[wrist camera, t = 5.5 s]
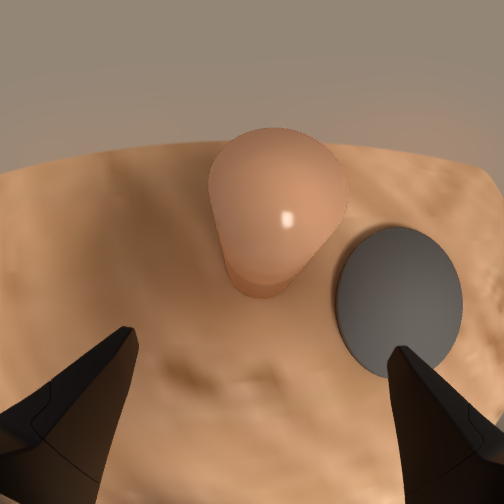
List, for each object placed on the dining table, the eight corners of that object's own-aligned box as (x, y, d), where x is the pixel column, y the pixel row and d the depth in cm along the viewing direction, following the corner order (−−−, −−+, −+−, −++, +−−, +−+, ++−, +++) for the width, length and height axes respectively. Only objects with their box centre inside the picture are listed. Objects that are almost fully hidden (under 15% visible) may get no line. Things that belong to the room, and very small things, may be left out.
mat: (474, 309, 21) (479, 308, 20) (391, 409, 19) (396, 411, 18) (404, 205, 24) (407, 201, 23) (302, 290, 22) (304, 288, 21)
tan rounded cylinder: (307, 272, 22) (374, 199, 10) (253, 312, 21) (266, 281, 9) (267, 221, 23) (288, 111, 11) (213, 257, 22) (181, 168, 10)
